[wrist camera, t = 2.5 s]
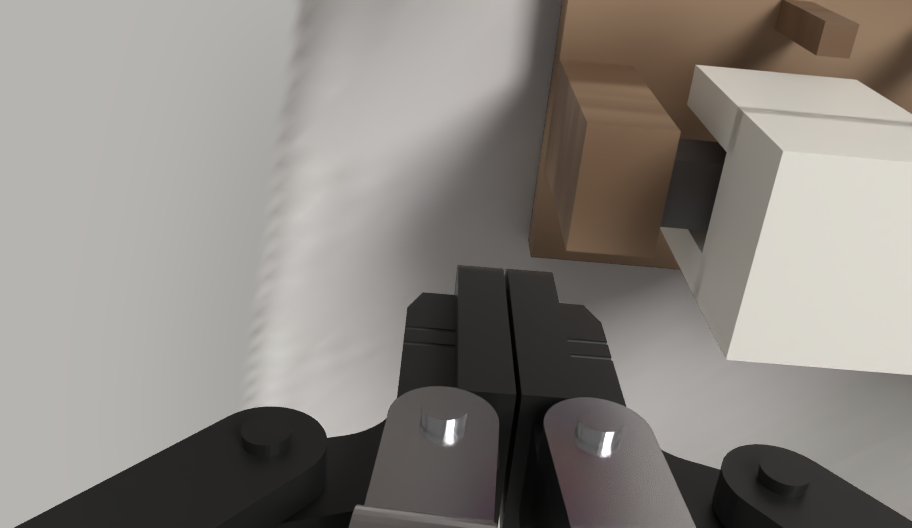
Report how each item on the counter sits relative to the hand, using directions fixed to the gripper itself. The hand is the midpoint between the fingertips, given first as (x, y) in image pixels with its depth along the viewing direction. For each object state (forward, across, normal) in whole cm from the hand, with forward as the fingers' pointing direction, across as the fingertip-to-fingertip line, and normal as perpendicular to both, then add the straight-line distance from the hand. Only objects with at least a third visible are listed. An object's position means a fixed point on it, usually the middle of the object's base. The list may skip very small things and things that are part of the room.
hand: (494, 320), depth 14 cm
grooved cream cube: (+9, -7, 0) cm, 11 cm away
